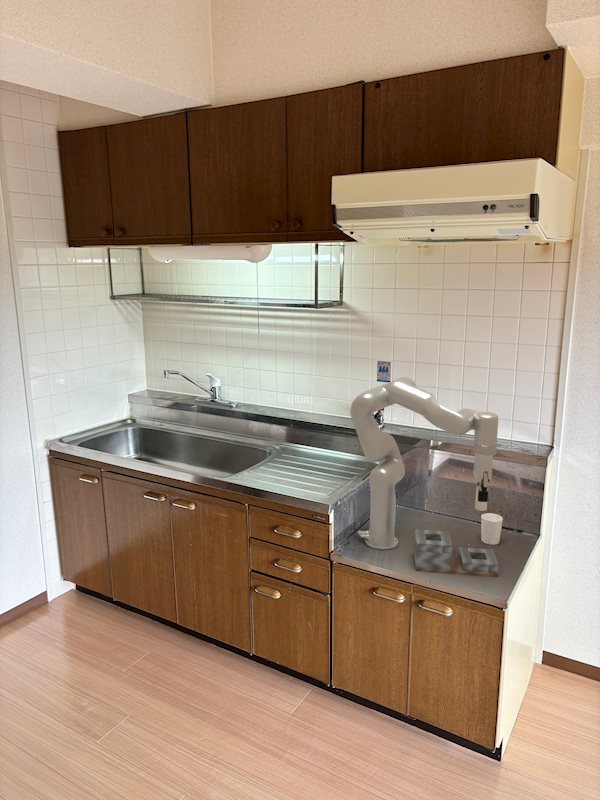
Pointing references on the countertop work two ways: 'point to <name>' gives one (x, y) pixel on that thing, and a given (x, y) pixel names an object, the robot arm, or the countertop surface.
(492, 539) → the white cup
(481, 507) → the peg
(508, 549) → the countertop surface
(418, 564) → the socket board
